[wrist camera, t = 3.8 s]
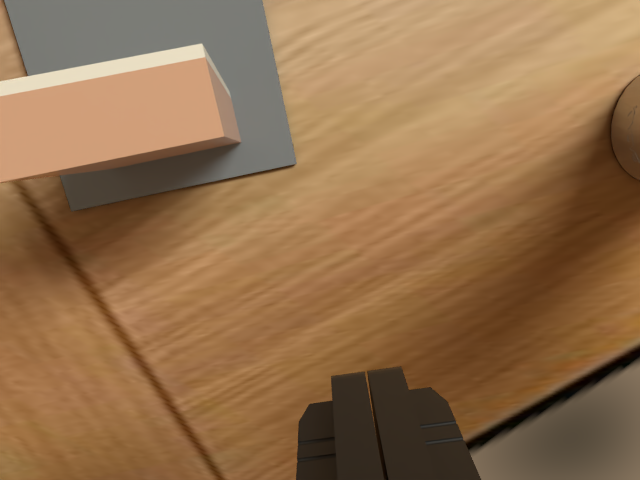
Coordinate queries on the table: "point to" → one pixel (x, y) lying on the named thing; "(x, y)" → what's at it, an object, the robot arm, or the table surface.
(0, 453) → the table surface
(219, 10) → the mat
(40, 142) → the peach rectangular block
